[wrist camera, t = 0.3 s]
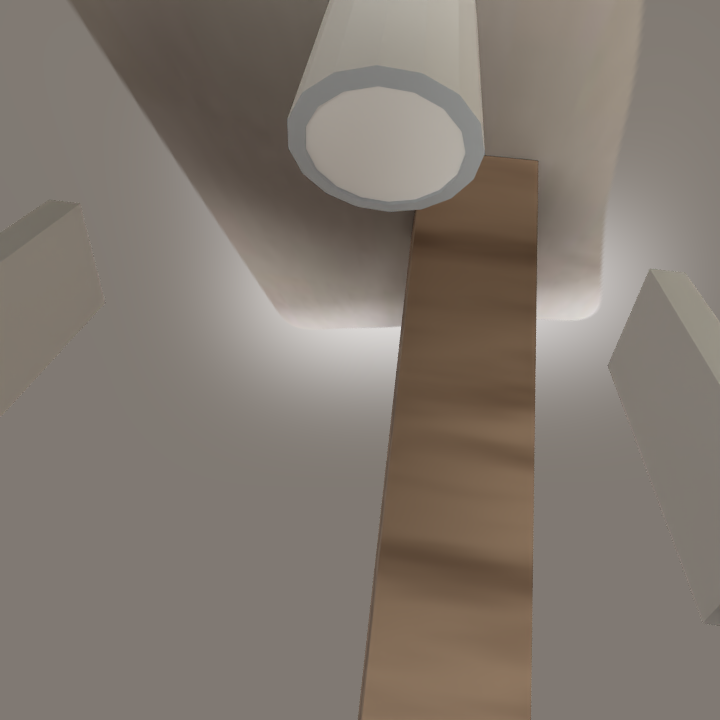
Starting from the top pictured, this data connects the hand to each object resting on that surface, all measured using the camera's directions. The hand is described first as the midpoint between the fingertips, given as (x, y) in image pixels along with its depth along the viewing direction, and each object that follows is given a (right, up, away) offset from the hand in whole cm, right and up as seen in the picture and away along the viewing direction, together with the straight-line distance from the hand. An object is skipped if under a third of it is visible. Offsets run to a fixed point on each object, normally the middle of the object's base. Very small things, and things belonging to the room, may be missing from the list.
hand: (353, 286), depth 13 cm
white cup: (+2, +12, +9) cm, 15 cm away
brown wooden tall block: (+6, +7, +19) cm, 21 cm away
